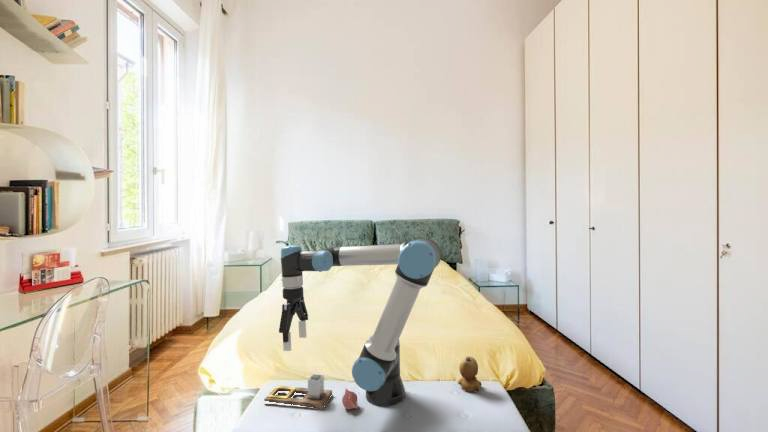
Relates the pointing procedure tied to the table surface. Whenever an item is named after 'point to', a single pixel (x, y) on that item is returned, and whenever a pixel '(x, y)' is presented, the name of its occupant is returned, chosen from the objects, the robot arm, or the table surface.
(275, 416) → the table surface
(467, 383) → the figurine
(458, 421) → the table surface
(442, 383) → the table surface
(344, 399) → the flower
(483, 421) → the table surface
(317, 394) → the block
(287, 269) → the robot arm
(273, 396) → the board
